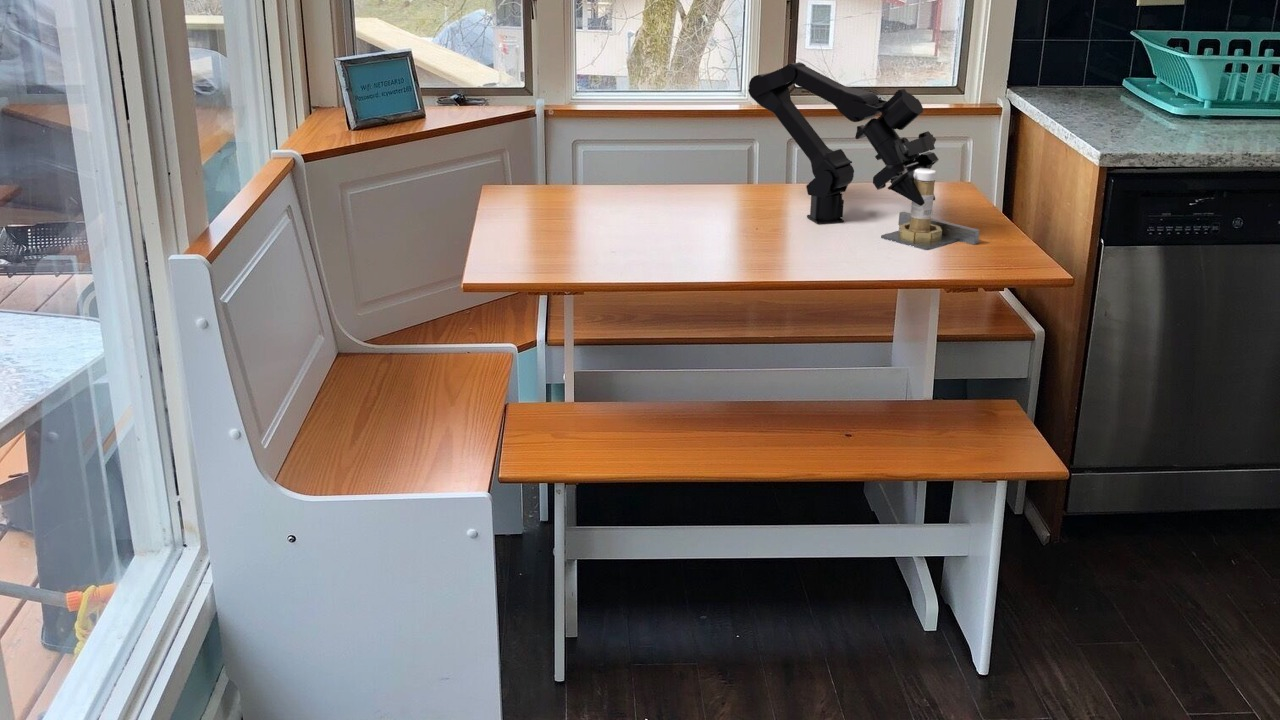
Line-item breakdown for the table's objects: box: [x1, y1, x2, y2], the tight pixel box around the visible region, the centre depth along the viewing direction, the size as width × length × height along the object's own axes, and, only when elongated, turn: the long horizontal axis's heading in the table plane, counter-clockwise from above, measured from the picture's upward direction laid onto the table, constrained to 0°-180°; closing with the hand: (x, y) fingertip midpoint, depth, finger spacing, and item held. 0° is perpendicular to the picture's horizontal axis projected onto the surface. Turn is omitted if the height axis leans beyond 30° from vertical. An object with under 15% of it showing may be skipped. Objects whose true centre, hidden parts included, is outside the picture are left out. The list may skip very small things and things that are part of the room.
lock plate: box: [880, 211, 980, 251], centre depth 260 cm, size 20×12×3 cm, turn 41°
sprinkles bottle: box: [909, 168, 937, 232], centre depth 257 cm, size 5×5×14 cm
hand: (928, 202), depth 256 cm, fingers closed on sprinkles bottle, 4 cm apart
